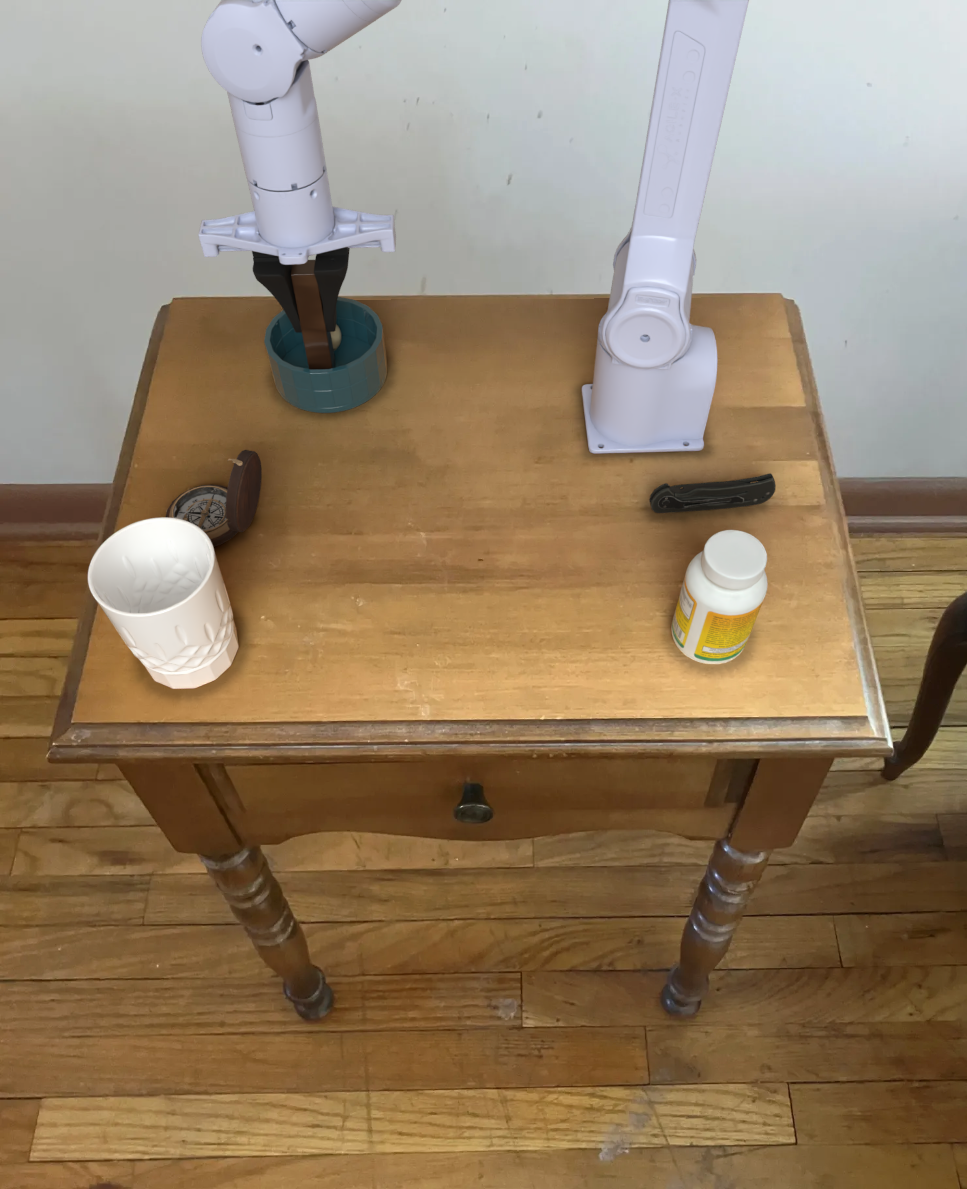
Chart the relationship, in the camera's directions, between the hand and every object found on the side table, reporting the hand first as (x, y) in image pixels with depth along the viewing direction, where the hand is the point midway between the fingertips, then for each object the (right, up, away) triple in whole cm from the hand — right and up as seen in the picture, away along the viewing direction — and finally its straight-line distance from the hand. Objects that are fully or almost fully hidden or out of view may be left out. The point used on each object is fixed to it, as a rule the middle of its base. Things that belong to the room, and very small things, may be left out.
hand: (315, 324), depth 80 cm
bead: (0, -1, +7) cm, 7 cm away
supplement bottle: (+30, -25, -10) cm, 41 cm away
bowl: (0, -3, +6) cm, 7 cm away
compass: (-7, -17, -4) cm, 19 cm away
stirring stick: (0, -3, +3) cm, 4 cm away
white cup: (-7, -26, -10) cm, 29 cm away
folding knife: (+32, -16, -3) cm, 35 cm away
